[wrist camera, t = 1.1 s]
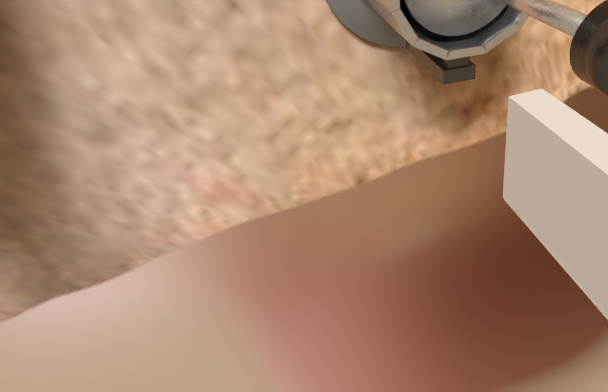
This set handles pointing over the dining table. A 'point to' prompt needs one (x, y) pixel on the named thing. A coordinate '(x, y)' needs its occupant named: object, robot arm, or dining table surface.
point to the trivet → (366, 22)
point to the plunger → (538, 4)
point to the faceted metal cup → (448, 39)
